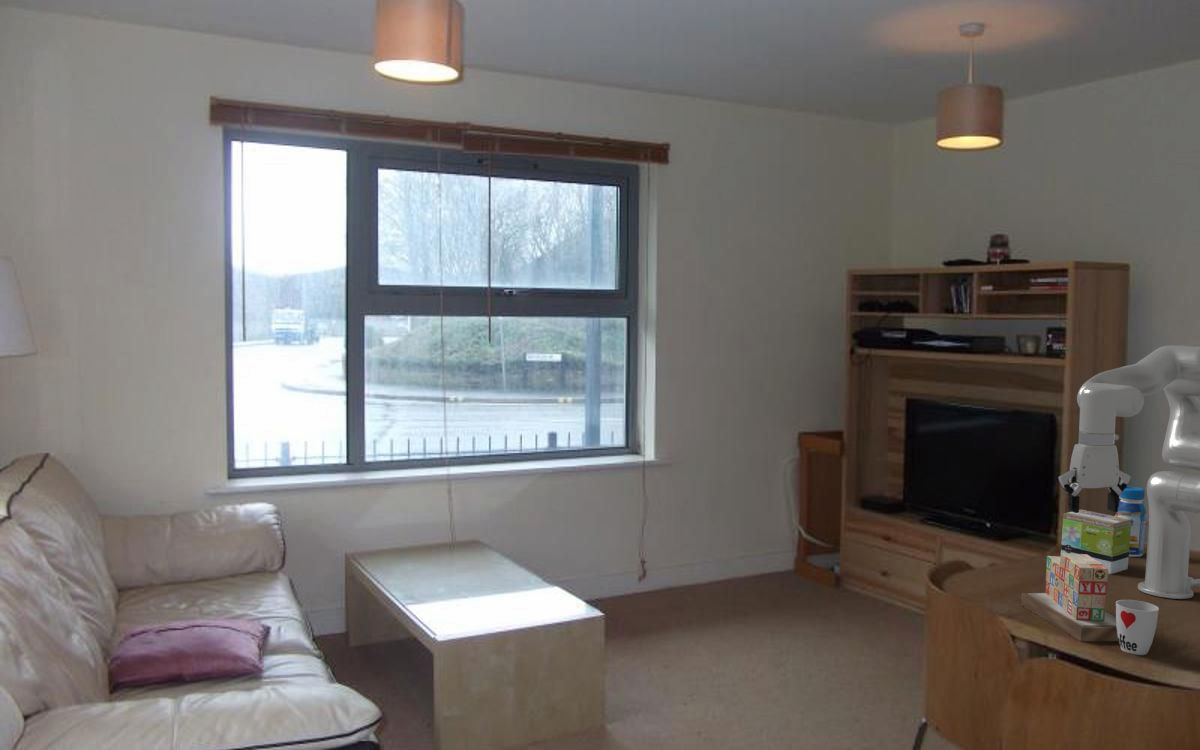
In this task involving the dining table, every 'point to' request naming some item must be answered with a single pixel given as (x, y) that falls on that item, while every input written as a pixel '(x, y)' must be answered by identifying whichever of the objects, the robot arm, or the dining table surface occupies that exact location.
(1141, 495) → the beverage bottle
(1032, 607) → the picture frame
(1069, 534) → the tea box
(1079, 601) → the stack of blocks
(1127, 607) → the cup
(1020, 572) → the dining table surface
